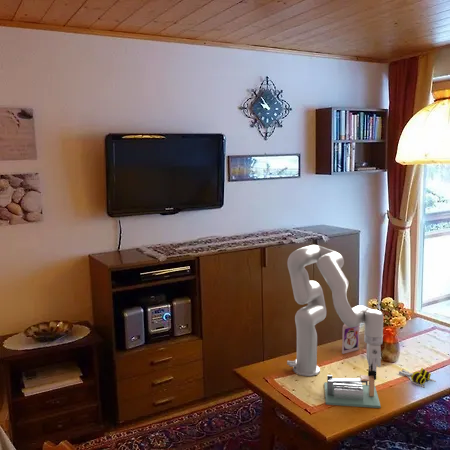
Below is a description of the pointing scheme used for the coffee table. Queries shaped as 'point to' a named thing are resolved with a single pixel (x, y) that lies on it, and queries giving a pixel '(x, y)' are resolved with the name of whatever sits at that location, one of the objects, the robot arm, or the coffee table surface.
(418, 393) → the coffee table surface
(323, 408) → the coffee table surface
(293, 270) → the robot arm
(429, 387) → the coffee table surface
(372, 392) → the bracket
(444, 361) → the coffee table surface
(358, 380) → the strap
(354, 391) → the heatsink
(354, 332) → the greeting card
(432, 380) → the pliers
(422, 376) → the opera glasses
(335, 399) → the circuit board
